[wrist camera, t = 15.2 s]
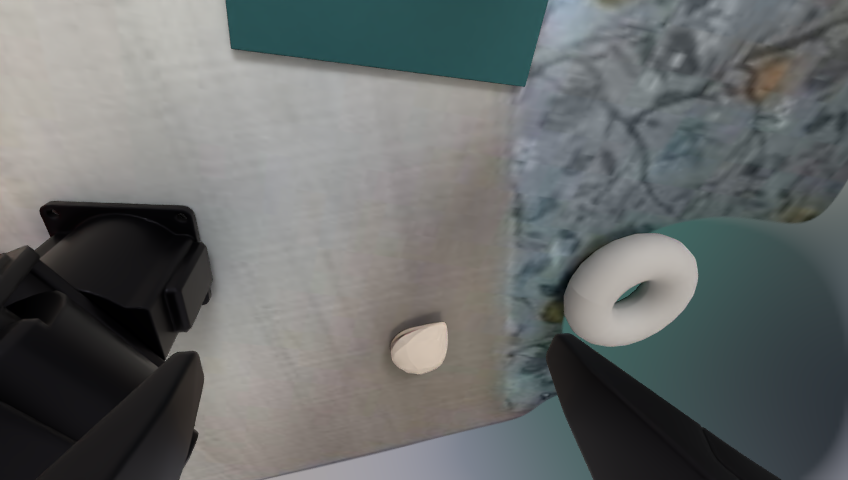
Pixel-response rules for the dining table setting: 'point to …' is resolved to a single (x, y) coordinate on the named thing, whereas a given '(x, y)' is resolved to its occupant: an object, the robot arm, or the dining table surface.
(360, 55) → the napkin
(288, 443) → the dining table surface
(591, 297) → the donut
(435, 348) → the cream clam shell
